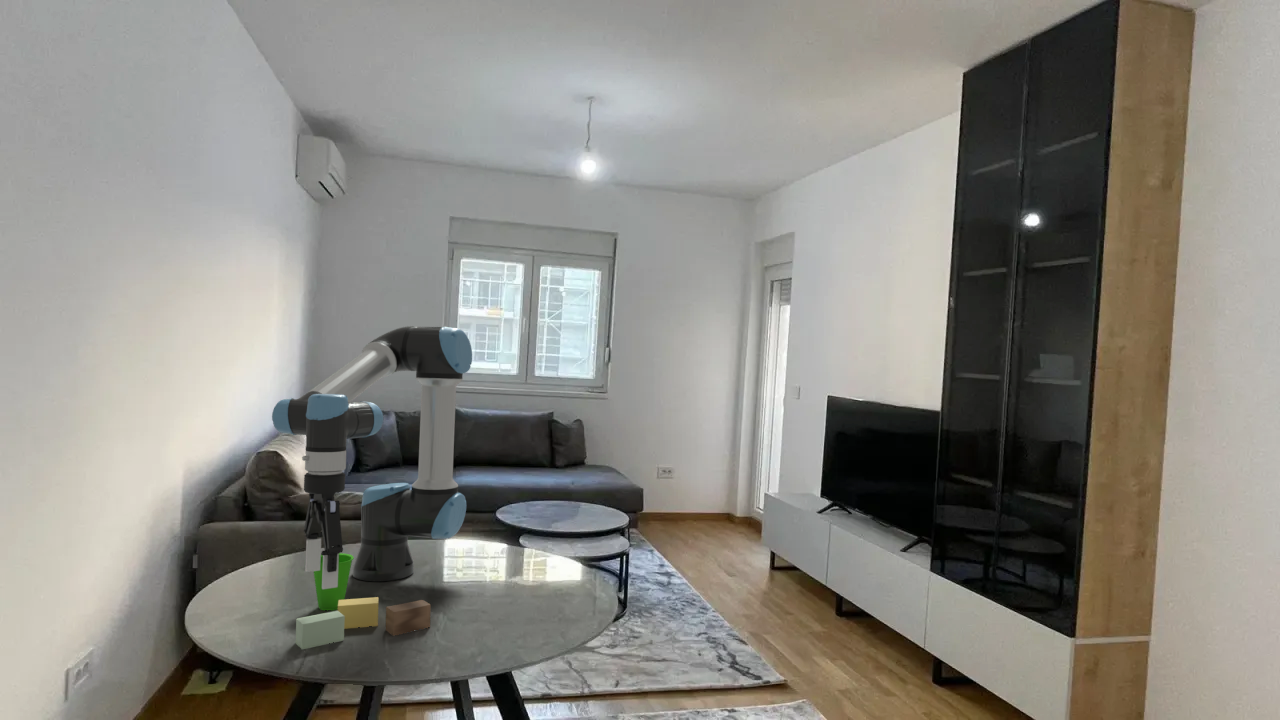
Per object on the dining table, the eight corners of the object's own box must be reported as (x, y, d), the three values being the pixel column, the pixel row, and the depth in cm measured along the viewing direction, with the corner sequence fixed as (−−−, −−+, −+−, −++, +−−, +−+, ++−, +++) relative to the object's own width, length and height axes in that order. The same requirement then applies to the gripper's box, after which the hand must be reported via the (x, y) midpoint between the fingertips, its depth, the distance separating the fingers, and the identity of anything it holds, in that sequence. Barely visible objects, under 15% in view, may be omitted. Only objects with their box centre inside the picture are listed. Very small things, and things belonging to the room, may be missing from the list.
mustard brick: (337, 629, 156) (337, 606, 156) (338, 623, 160) (338, 599, 160) (377, 626, 159) (378, 602, 159) (377, 620, 163) (378, 597, 163)
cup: (360, 603, 173) (362, 555, 173) (332, 616, 164) (334, 565, 164) (329, 598, 176) (330, 551, 176) (299, 610, 167) (301, 560, 167)
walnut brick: (393, 636, 154) (394, 612, 154) (385, 630, 157) (386, 606, 157) (430, 628, 159) (430, 604, 159) (421, 622, 162) (422, 599, 162)
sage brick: (301, 650, 145) (302, 624, 145) (295, 643, 148) (296, 618, 148) (343, 641, 151) (344, 616, 151) (336, 635, 154) (337, 610, 154)
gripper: (291, 465, 157) (287, 566, 157) (320, 481, 137) (316, 598, 137) (328, 463, 162) (325, 562, 161) (362, 479, 142) (358, 592, 141)
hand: (320, 579), depth 149 cm, fingers open, 13 cm apart
